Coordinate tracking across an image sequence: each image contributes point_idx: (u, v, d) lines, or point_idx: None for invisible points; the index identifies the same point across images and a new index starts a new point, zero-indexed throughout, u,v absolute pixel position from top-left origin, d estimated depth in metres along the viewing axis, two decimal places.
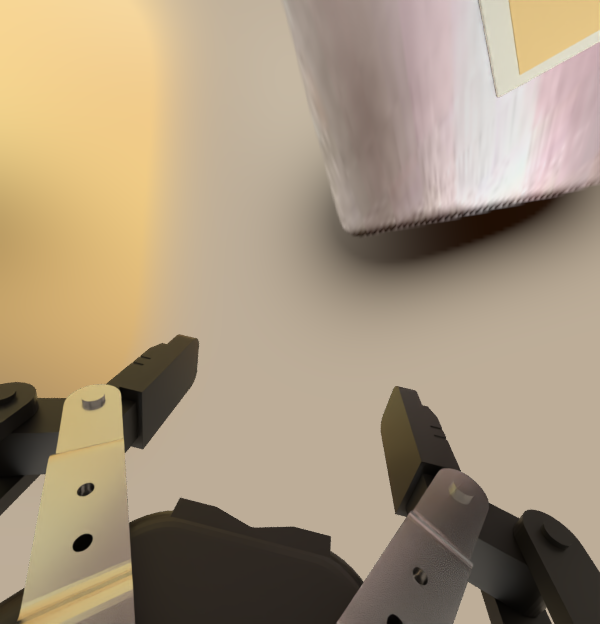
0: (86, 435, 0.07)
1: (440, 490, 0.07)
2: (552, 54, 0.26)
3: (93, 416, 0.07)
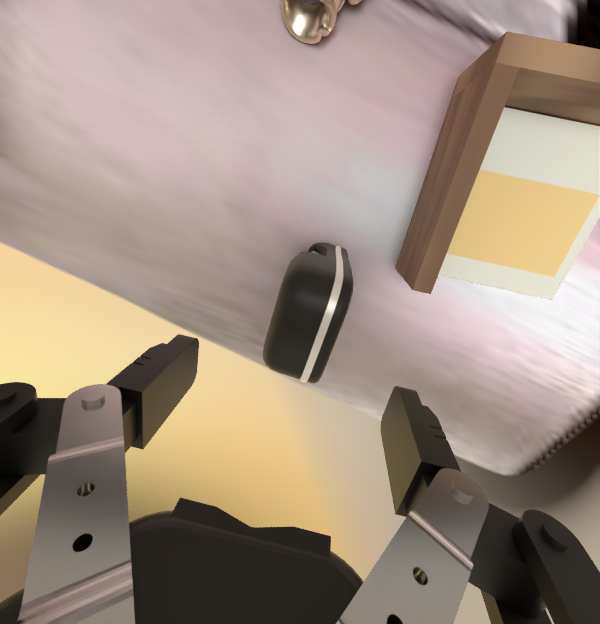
0: (86, 435, 0.07)
1: (440, 490, 0.07)
2: (569, 246, 0.22)
3: (93, 415, 0.07)
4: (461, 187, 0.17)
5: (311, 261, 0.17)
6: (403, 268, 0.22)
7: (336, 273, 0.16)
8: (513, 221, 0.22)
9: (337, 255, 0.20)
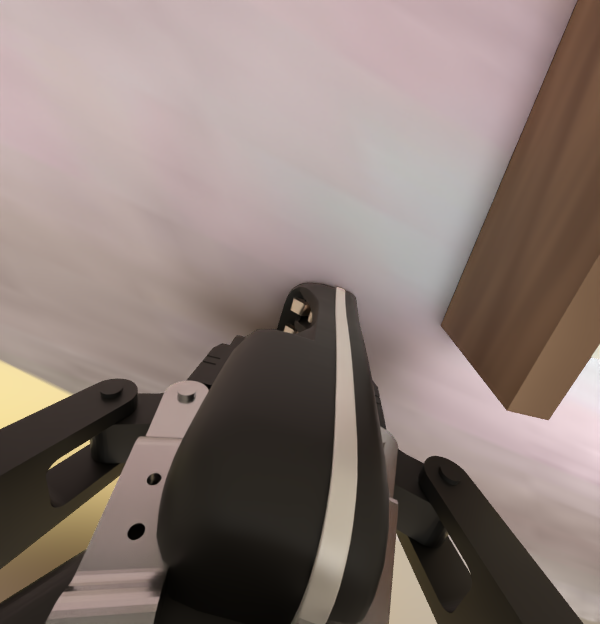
0: None
1: None
2: None
3: (182, 409, 0.08)
4: None
5: (266, 385, 0.06)
6: (465, 338, 0.12)
7: (335, 437, 0.05)
8: None
9: (339, 326, 0.09)
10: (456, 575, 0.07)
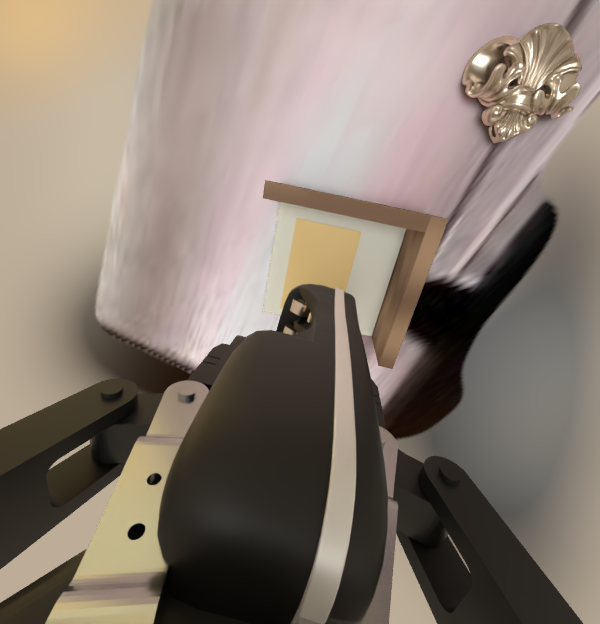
0: None
1: None
2: None
3: (182, 409, 0.08)
4: (350, 207, 0.21)
5: (265, 386, 0.06)
6: None
7: (333, 438, 0.05)
8: (320, 271, 0.29)
9: (338, 327, 0.10)
10: (456, 575, 0.07)
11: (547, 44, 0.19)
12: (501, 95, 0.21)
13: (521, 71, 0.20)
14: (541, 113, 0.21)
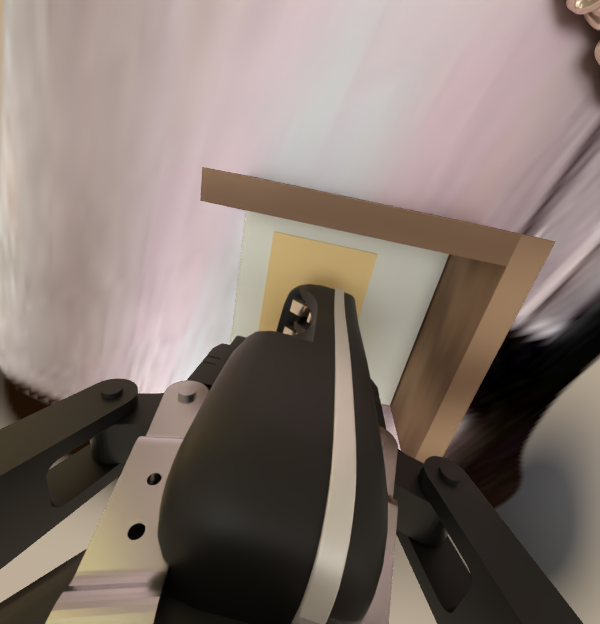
0: None
1: None
2: None
3: (183, 409, 0.08)
4: (364, 219, 0.11)
5: (265, 387, 0.06)
6: None
7: (333, 439, 0.05)
8: None
9: (337, 327, 0.10)
10: (456, 575, 0.07)
11: None
12: None
13: None
14: None
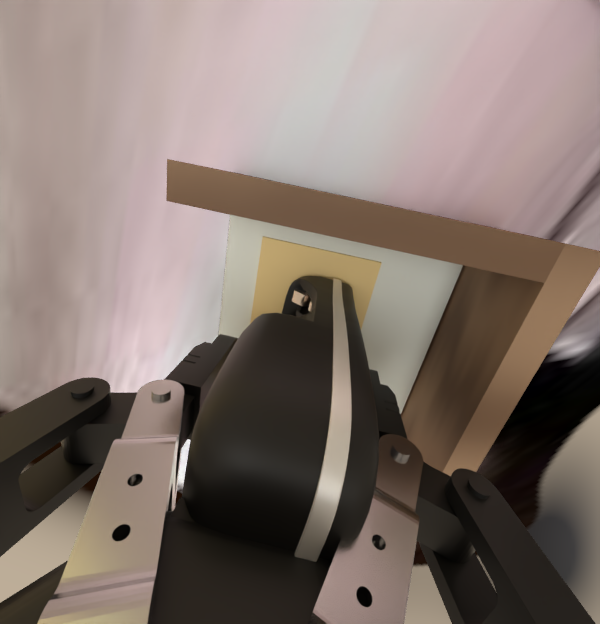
0: (163, 425, 0.07)
1: (380, 450, 0.08)
2: None
3: (157, 409, 0.08)
4: (368, 224, 0.09)
5: (273, 354, 0.07)
6: (226, 171, 0.12)
7: (332, 392, 0.06)
8: None
9: (335, 310, 0.10)
10: (482, 594, 0.07)
11: None
12: None
13: None
14: None
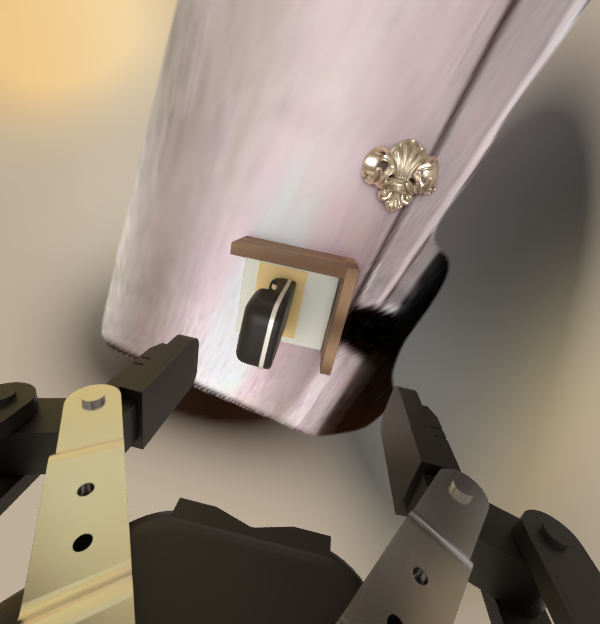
0: (86, 435, 0.07)
1: (440, 490, 0.07)
2: None
3: (93, 415, 0.07)
4: (291, 261, 0.30)
5: (262, 296, 0.28)
6: (246, 239, 0.33)
7: (275, 302, 0.27)
8: None
9: (284, 288, 0.32)
10: None
11: (408, 153, 0.29)
12: (384, 184, 0.30)
13: (394, 170, 0.29)
14: (415, 193, 0.31)
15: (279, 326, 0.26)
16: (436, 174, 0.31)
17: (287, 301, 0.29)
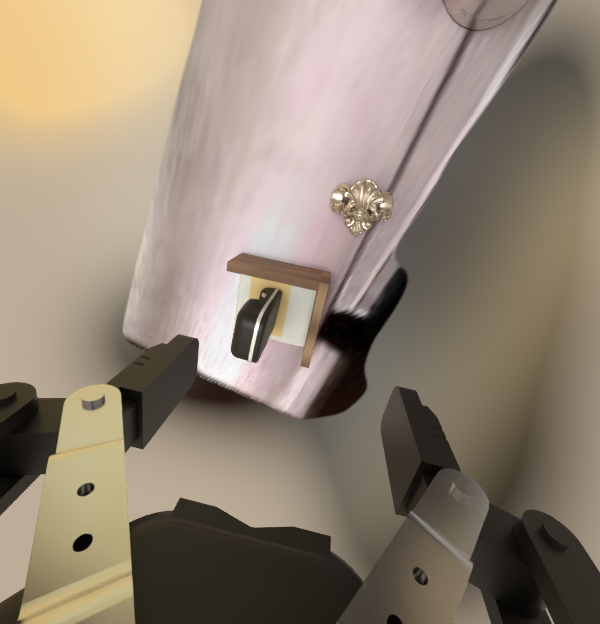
0: (86, 435, 0.07)
1: (440, 490, 0.07)
2: None
3: (93, 415, 0.07)
4: (275, 277, 0.38)
5: (251, 305, 0.36)
6: (240, 257, 0.41)
7: (261, 311, 0.35)
8: None
9: (270, 298, 0.39)
10: None
11: (364, 190, 0.36)
12: (347, 215, 0.37)
13: (354, 204, 0.36)
14: None
15: (263, 330, 0.34)
16: (391, 204, 0.38)
17: (271, 309, 0.36)
